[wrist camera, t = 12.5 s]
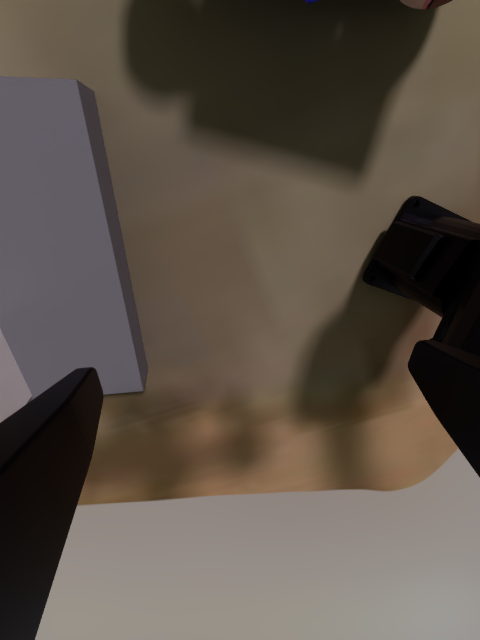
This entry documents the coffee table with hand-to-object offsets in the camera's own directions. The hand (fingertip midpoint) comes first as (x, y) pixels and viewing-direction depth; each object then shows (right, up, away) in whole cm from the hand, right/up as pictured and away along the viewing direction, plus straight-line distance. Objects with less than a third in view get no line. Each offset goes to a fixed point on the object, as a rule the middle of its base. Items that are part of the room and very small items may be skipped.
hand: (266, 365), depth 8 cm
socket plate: (-15, +5, +10) cm, 19 cm away
